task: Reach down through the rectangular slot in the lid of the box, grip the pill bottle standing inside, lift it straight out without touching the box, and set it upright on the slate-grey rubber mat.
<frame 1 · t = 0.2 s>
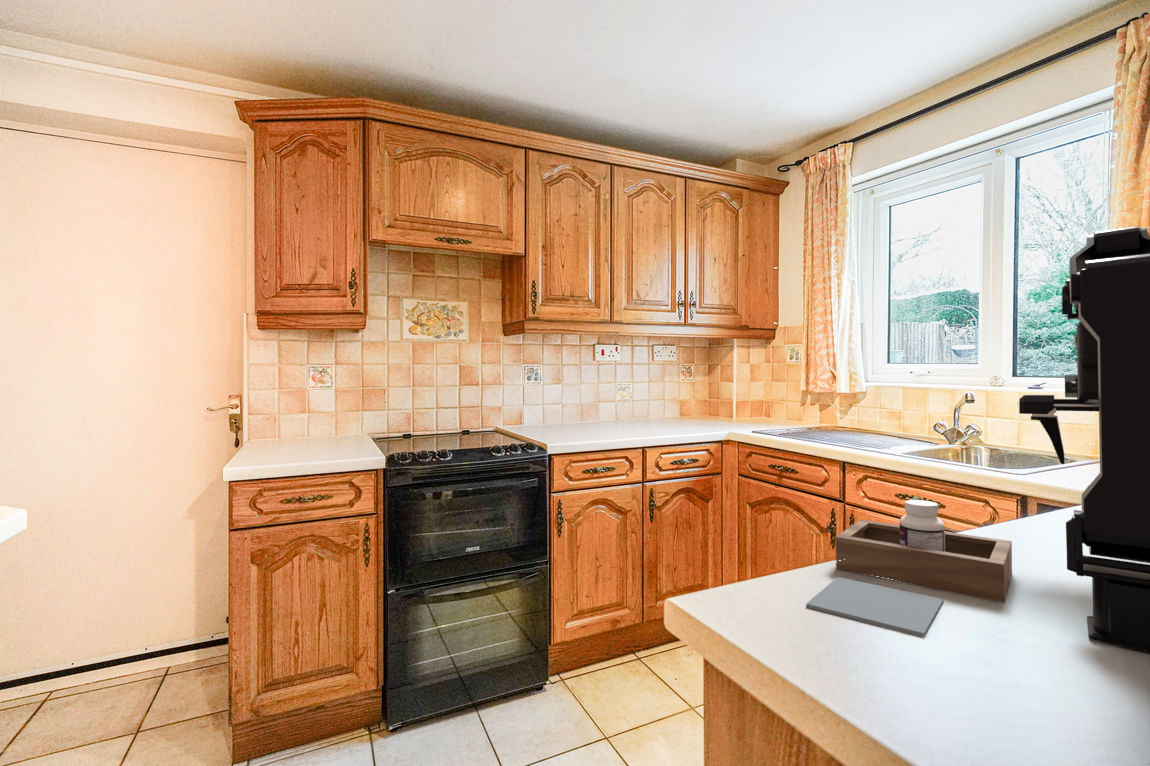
hand: (1106, 466, 77), 14 cm above the countertop, fingers open, 9 cm apart
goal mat: (875, 604, 66), on the countertop
pill bottle: (922, 573, 77), resting in slot box
slot box: (922, 571, 77), on the countertop
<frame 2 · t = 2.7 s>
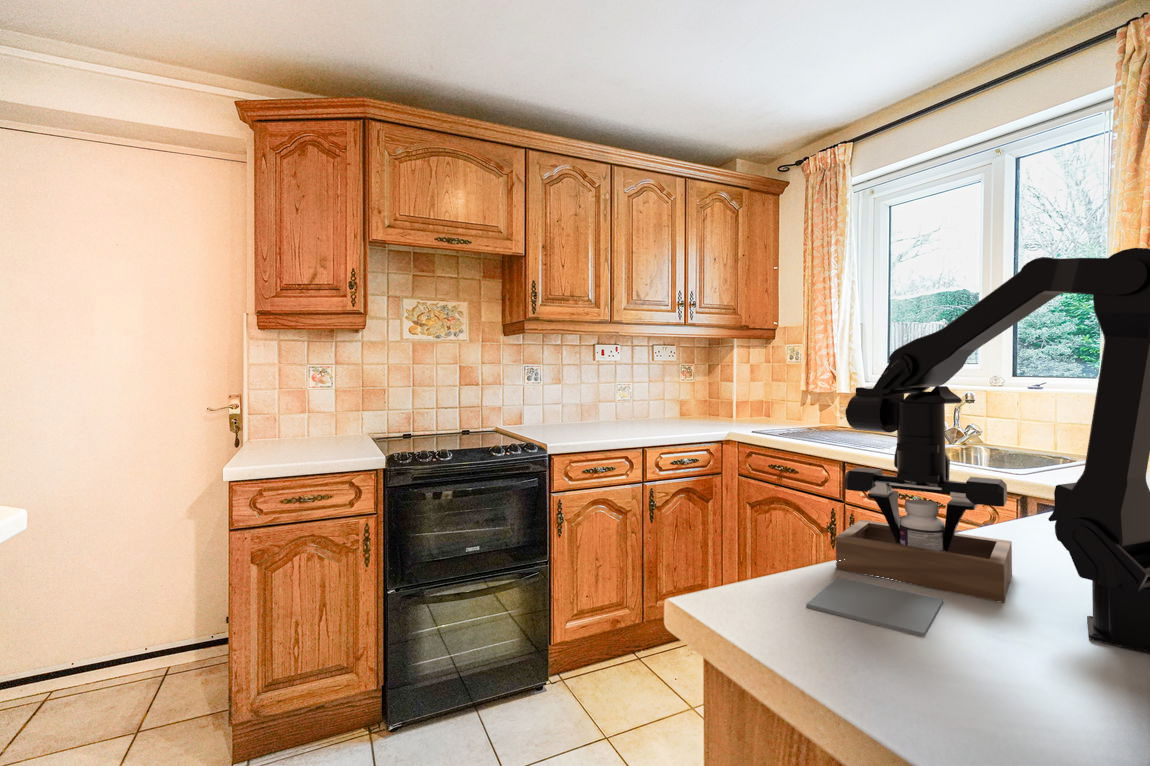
hand: (922, 546, 77), 4 cm above the countertop, fingers closed on pill bottle, 5 cm apart
pill bottle: (922, 573, 77), resting in slot box, touching gripper
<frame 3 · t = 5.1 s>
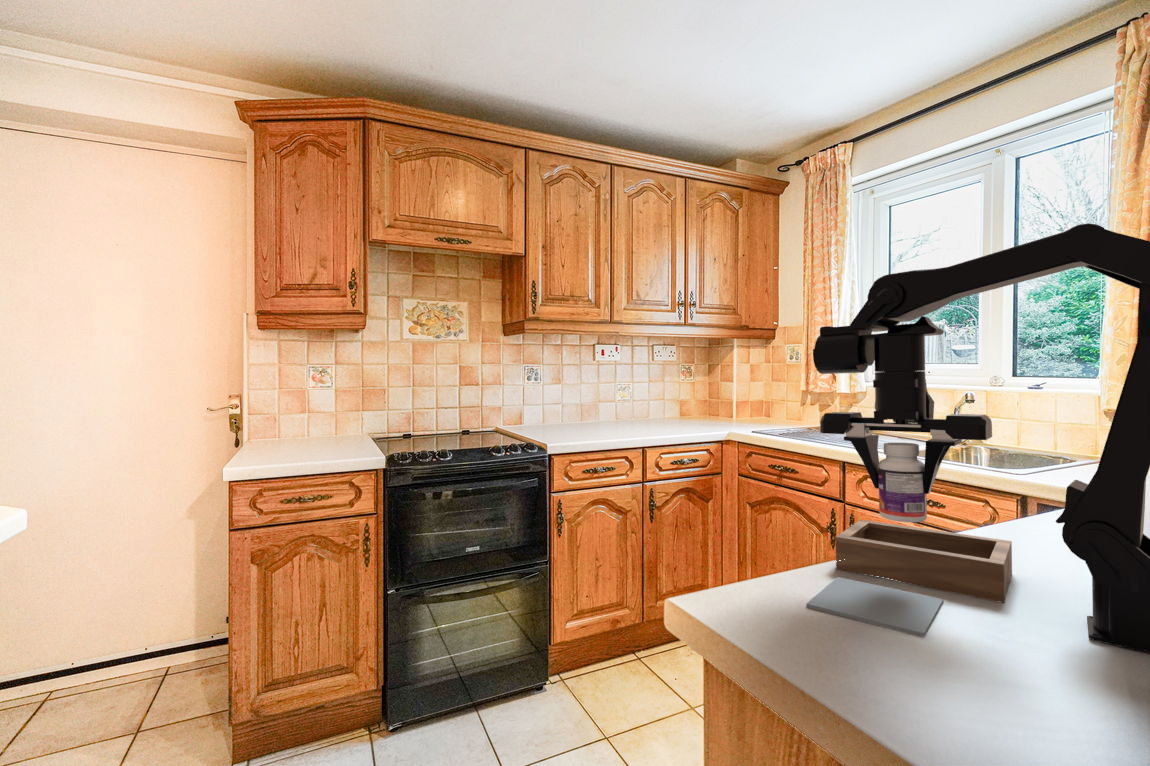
hand: (901, 490, 72), 12 cm above the countertop, fingers closed on pill bottle, 5 cm apart
pill bottle: (902, 519, 72), point 9 cm above the countertop, touching gripper
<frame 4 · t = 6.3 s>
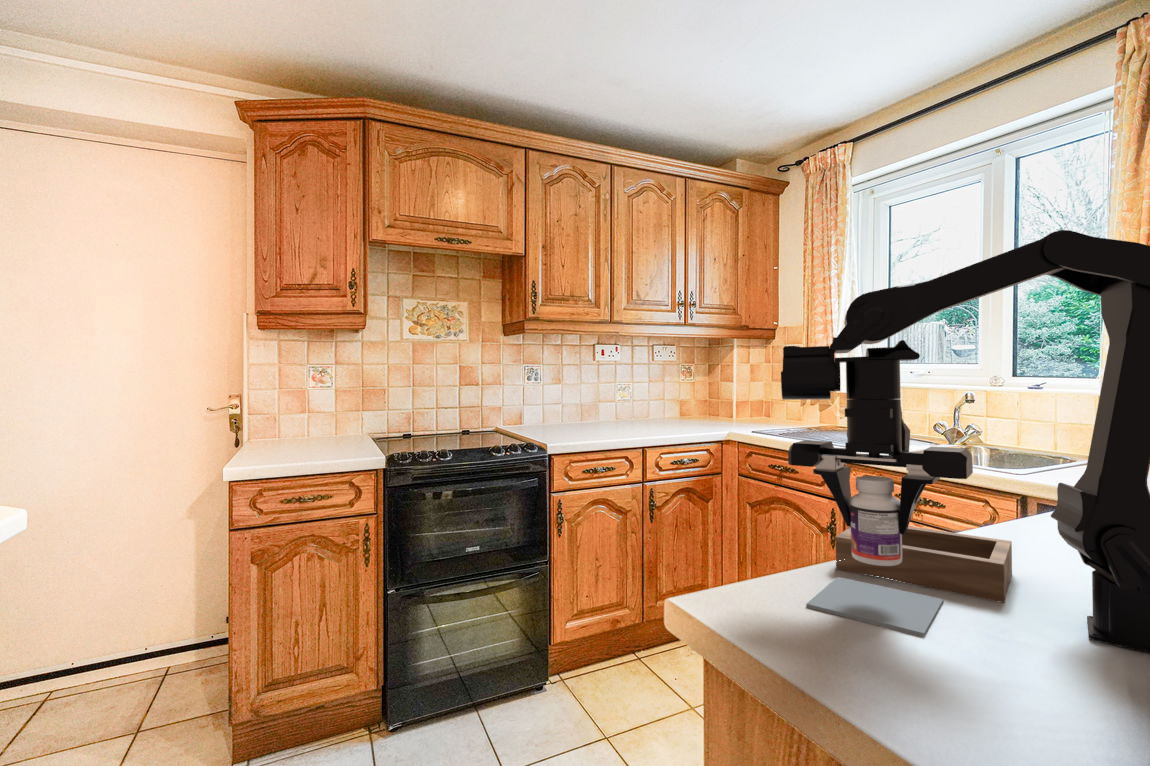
hand: (875, 529, 66), 9 cm above the countertop, fingers closed on pill bottle, 5 cm apart
pill bottle: (876, 561, 66), point 5 cm above the countertop, touching gripper
when the fingers open (5 cm above the countertop, at t = 7.4 s): pill bottle stays where it is, resting on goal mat.
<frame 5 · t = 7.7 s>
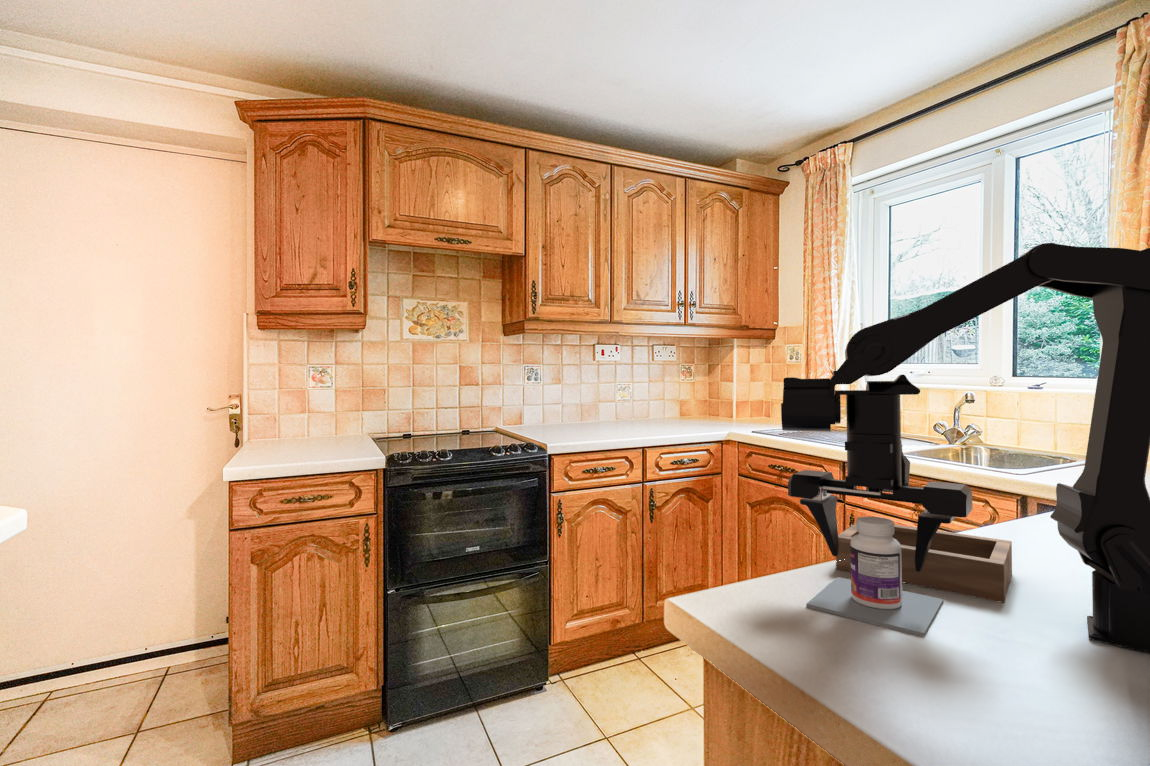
hand: (875, 563, 66), 5 cm above the countertop, fingers open, 9 cm apart
pill bottle: (876, 603, 66), resting on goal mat
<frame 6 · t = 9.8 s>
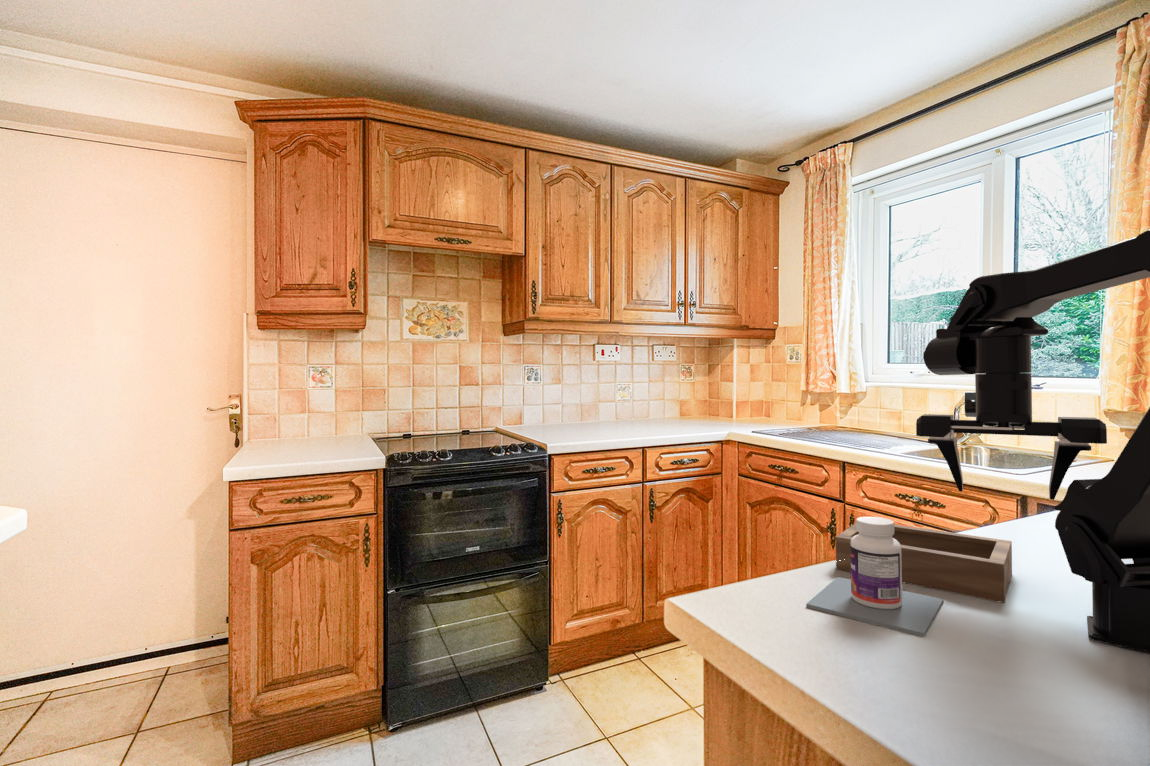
hand: (1004, 494, 71), 12 cm above the countertop, fingers open, 9 cm apart
nothing on the countertop moved.
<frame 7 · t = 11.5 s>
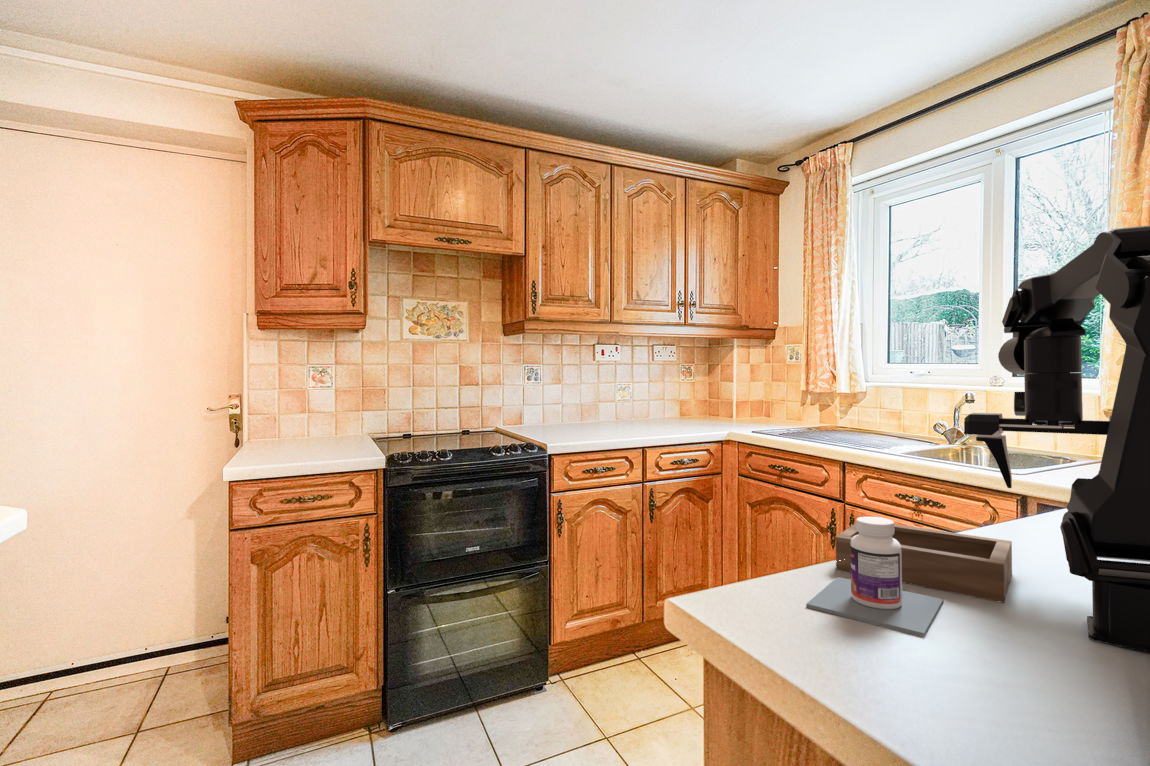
hand: (1054, 491, 72), 12 cm above the countertop, fingers open, 9 cm apart
nothing on the countertop moved.
at the end: pill bottle inside the target area on the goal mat (0.1 cm from its centre), point 0.2 cm above the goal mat's base; pill bottle tilted 0°; pill bottle touching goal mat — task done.
